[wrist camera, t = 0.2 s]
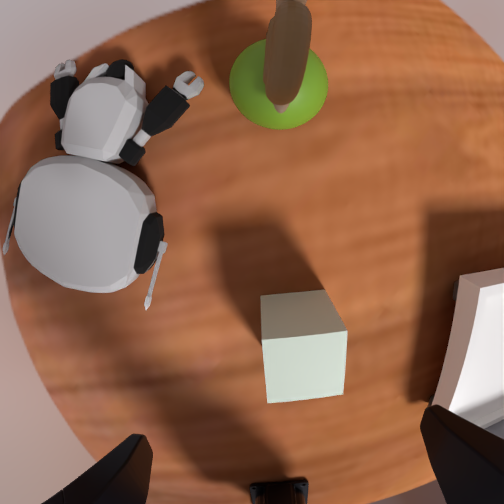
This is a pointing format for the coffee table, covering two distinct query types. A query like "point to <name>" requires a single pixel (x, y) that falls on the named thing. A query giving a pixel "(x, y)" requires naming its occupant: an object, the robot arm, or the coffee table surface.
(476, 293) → the tray
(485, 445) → the robot arm
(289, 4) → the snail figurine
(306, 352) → the part block
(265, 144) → the coffee table surface
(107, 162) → the robot toy
